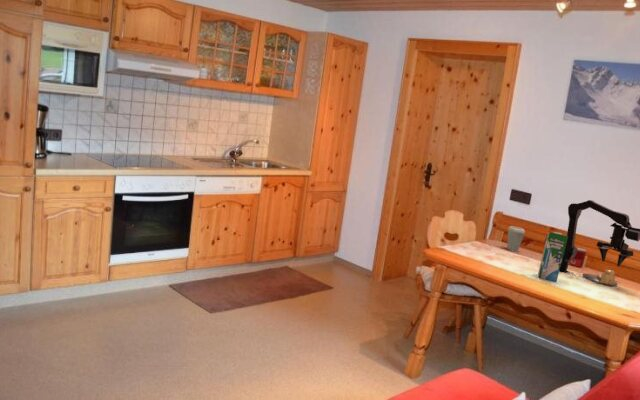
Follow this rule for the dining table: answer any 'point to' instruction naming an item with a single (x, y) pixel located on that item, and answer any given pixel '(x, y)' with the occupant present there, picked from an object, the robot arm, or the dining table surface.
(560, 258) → the milk carton
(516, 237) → the disposable coffee cup
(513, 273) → the dining table surface
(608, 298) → the dining table surface
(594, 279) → the carrier
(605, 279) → the tan rounded lump
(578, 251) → the canned food
